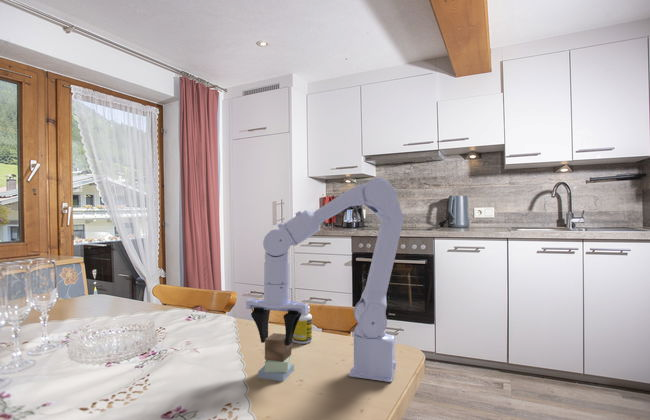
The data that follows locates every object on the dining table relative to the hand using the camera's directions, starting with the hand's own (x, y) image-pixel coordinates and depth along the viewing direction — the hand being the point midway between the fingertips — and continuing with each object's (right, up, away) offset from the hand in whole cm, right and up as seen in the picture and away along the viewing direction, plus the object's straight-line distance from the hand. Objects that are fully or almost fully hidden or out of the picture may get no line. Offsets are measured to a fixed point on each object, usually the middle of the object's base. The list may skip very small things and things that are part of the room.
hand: (276, 342), depth 84 cm
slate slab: (0, -8, 0) cm, 8 cm away
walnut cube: (0, -3, 0) cm, 3 cm away
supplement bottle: (+5, -8, +22) cm, 23 cm away
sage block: (0, -6, 0) cm, 6 cm away
